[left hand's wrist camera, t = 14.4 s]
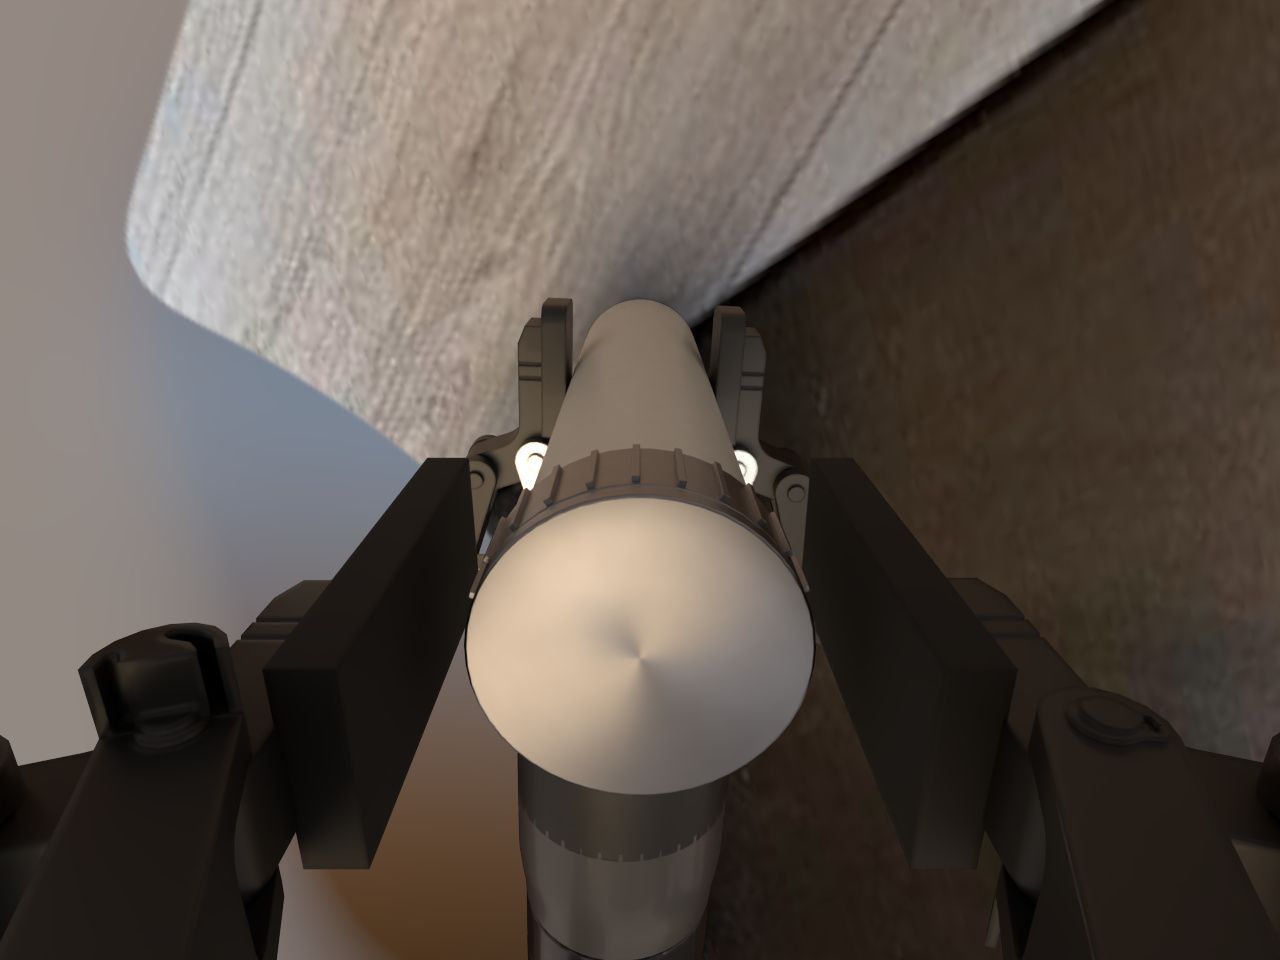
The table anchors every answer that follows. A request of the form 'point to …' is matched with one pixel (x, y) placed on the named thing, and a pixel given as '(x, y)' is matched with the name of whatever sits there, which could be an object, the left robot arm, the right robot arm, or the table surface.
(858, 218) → the table surface
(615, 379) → the beige cylindrical rod
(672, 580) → the lid
